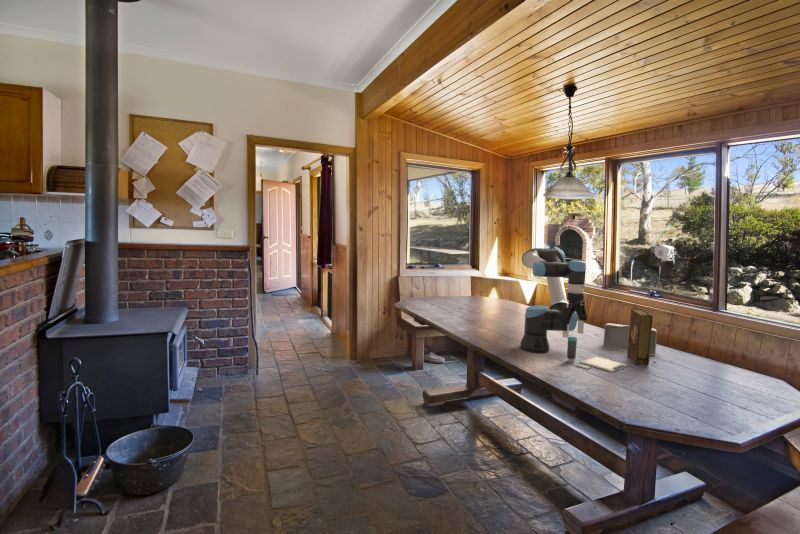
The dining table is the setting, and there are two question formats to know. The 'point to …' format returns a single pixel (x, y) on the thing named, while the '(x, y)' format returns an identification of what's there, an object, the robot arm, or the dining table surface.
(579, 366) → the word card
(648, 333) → the book
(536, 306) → the robot arm
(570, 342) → the marker
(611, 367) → the cream square framed board
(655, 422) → the dining table surface
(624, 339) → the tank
